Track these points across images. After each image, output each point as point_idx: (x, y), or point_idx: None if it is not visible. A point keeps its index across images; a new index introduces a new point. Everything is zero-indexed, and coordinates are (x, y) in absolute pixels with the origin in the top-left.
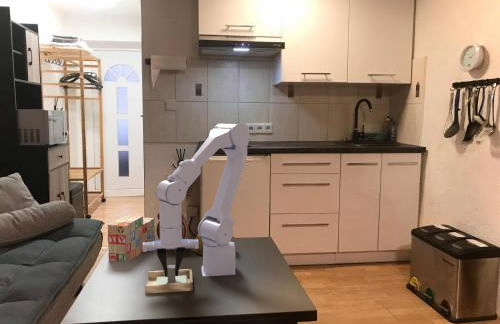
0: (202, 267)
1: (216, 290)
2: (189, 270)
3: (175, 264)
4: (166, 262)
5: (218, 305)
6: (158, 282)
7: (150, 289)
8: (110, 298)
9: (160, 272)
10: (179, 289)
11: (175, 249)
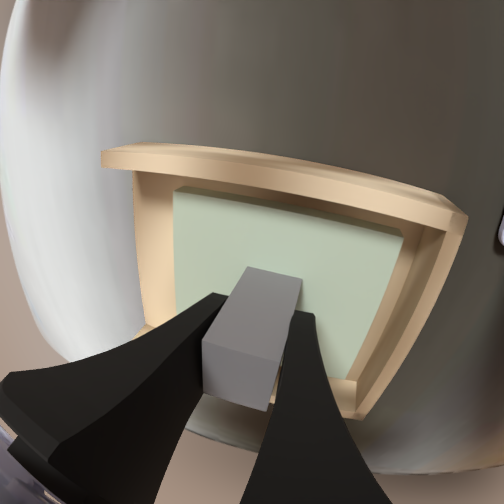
0: None
1: (459, 386)
2: (444, 230)
3: (285, 355)
4: (174, 447)
5: (393, 452)
6: (187, 289)
7: None
8: (61, 288)
9: (184, 174)
10: None
11: (241, 500)
